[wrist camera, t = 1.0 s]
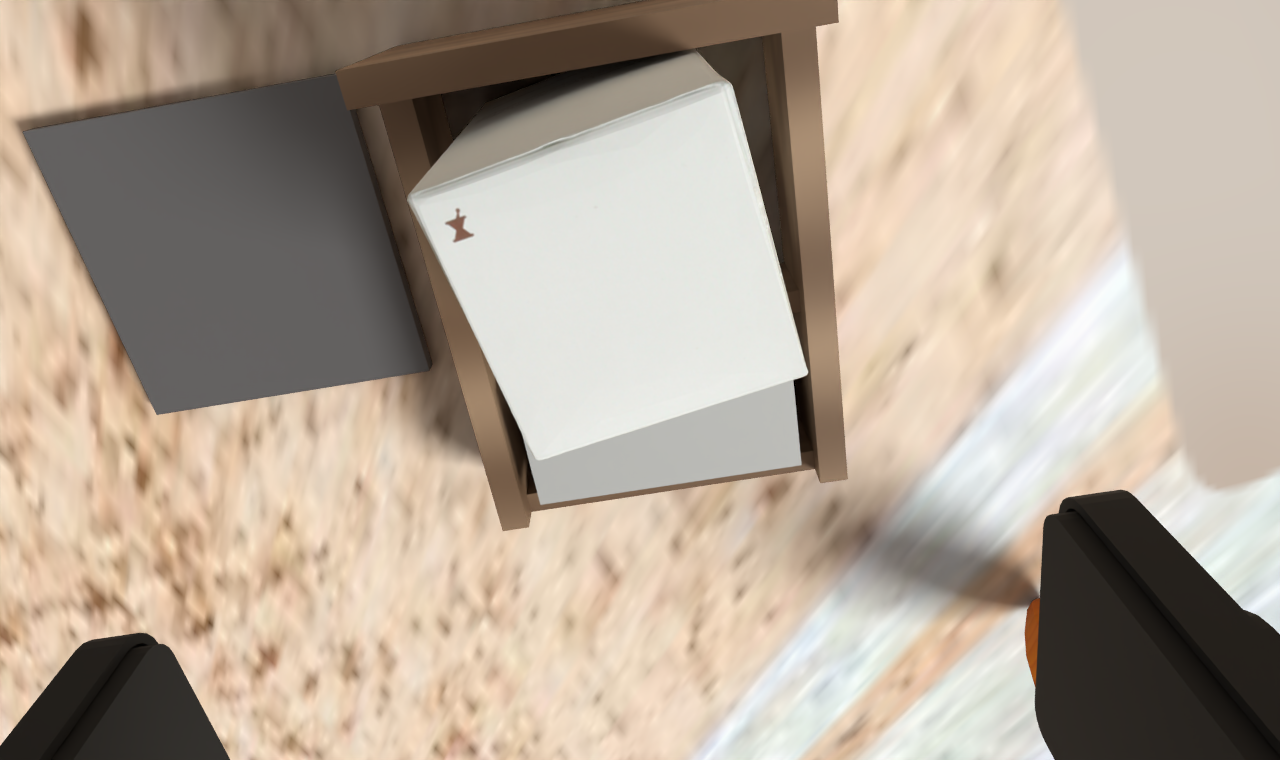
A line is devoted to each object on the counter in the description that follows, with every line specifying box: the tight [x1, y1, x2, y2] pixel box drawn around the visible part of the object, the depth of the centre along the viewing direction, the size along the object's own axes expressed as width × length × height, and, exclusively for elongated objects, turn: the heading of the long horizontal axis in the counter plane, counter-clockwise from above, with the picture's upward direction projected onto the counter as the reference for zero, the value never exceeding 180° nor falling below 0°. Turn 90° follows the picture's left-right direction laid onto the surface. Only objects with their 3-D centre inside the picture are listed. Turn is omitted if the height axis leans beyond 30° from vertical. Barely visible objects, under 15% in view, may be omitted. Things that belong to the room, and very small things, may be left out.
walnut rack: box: [335, 0, 848, 531], centre depth 29 cm, size 17×13×7 cm
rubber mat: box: [23, 74, 432, 415], centre depth 31 cm, size 11×11×1 cm
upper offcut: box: [522, 380, 802, 505], centre depth 32 cm, size 4×10×2 cm, turn 99°
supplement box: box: [407, 48, 808, 461], centre depth 25 cm, size 7×7×13 cm
